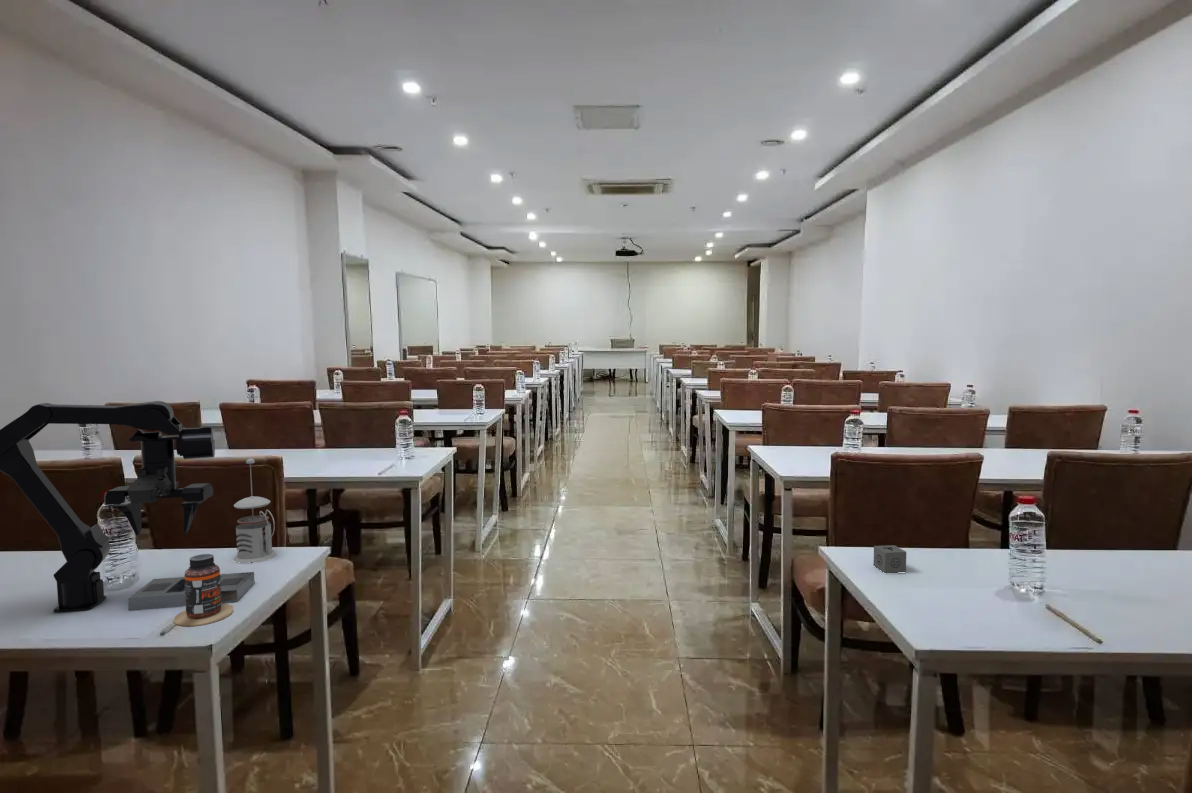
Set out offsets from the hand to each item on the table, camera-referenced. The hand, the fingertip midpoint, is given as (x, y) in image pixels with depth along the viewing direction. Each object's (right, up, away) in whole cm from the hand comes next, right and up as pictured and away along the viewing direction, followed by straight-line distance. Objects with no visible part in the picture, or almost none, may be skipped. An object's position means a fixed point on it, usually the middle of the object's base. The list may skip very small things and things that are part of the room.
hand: (162, 533), depth 137 cm
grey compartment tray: (+7, -13, -1) cm, 15 cm away
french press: (+7, -11, +24) cm, 28 cm away
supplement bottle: (+15, -14, -11) cm, 23 cm away
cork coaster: (+16, -14, -11) cm, 23 cm away
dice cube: (+160, -11, +12) cm, 161 cm away
